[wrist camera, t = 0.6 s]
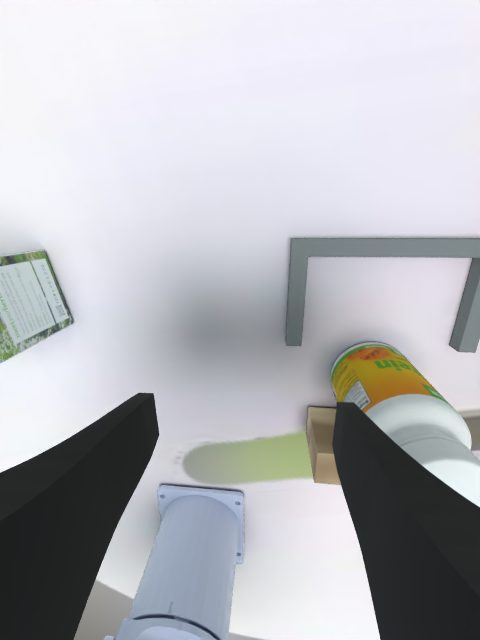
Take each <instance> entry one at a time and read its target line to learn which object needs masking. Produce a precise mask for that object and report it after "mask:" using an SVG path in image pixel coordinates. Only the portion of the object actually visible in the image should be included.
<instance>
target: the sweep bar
mask: <svg viewBox="0 0 480 640" xmlns="http://www.w3.org/2000/svg"><path fill="white" fill-rule="evenodd" d="M335 416H336V409H333V408H315V407H308V418H307V428H306V436H307V442H308V447H309V454H310V460H311V466H312V472H313V478H314V483H325V484H337V485H341V483H340V479H339V476H338V473H337V468H336V463H335V458H334V453H333V447H332V441H333V433H334V424H335Z"/></svg>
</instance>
